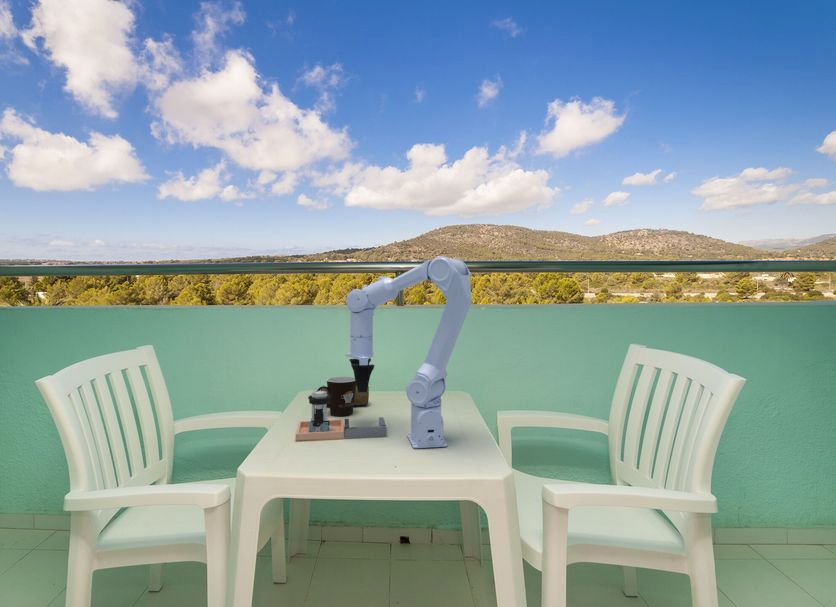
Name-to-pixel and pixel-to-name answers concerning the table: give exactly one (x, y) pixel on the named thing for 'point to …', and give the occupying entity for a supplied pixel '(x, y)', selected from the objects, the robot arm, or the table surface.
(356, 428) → the bracket
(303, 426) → the tray
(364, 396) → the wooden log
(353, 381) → the coffee mug
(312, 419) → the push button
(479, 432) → the table surface
